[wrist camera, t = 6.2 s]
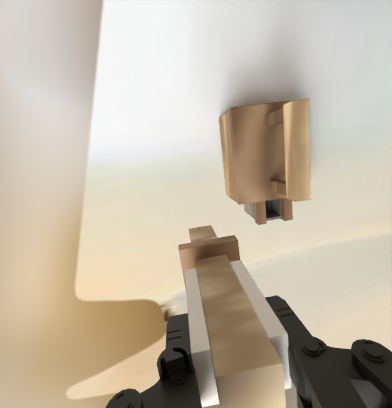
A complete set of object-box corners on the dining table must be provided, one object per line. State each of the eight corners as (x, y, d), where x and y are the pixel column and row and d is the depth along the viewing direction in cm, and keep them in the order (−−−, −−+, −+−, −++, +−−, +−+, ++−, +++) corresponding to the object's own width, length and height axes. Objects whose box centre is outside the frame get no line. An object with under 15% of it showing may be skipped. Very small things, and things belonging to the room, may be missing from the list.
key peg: (218, 214, 24) (308, 333, 8) (223, 252, 25) (313, 429, 9) (177, 221, 23) (182, 359, 7) (184, 259, 24) (201, 454, 8)
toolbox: (279, 111, 43) (302, 101, 36) (283, 205, 47) (304, 214, 40) (219, 118, 43) (228, 109, 35) (228, 213, 47) (238, 224, 39)
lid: (302, 101, 36) (350, 79, 26) (304, 214, 40) (347, 234, 30) (228, 109, 35) (249, 91, 25) (238, 224, 39) (260, 248, 29)
